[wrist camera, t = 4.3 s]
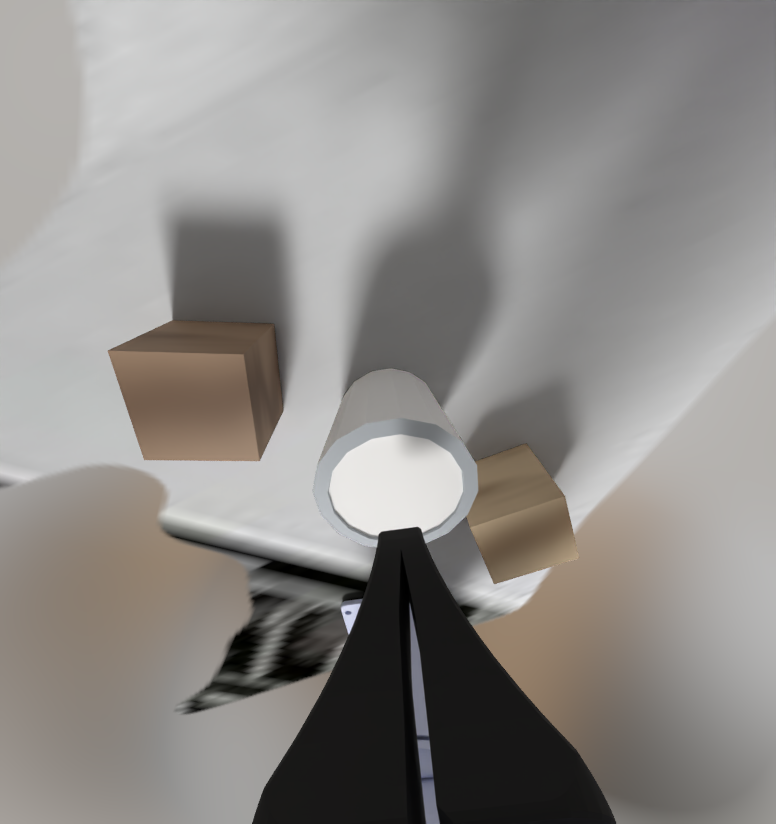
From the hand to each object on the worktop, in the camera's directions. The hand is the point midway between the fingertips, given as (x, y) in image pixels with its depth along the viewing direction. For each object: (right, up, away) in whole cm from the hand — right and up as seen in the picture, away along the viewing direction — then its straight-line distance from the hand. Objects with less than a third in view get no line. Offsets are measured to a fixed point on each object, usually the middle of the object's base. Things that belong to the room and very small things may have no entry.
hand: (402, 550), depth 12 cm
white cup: (0, +5, +9) cm, 10 cm away
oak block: (+7, 0, +12) cm, 14 cm away
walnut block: (-9, +7, +7) cm, 13 cm away
